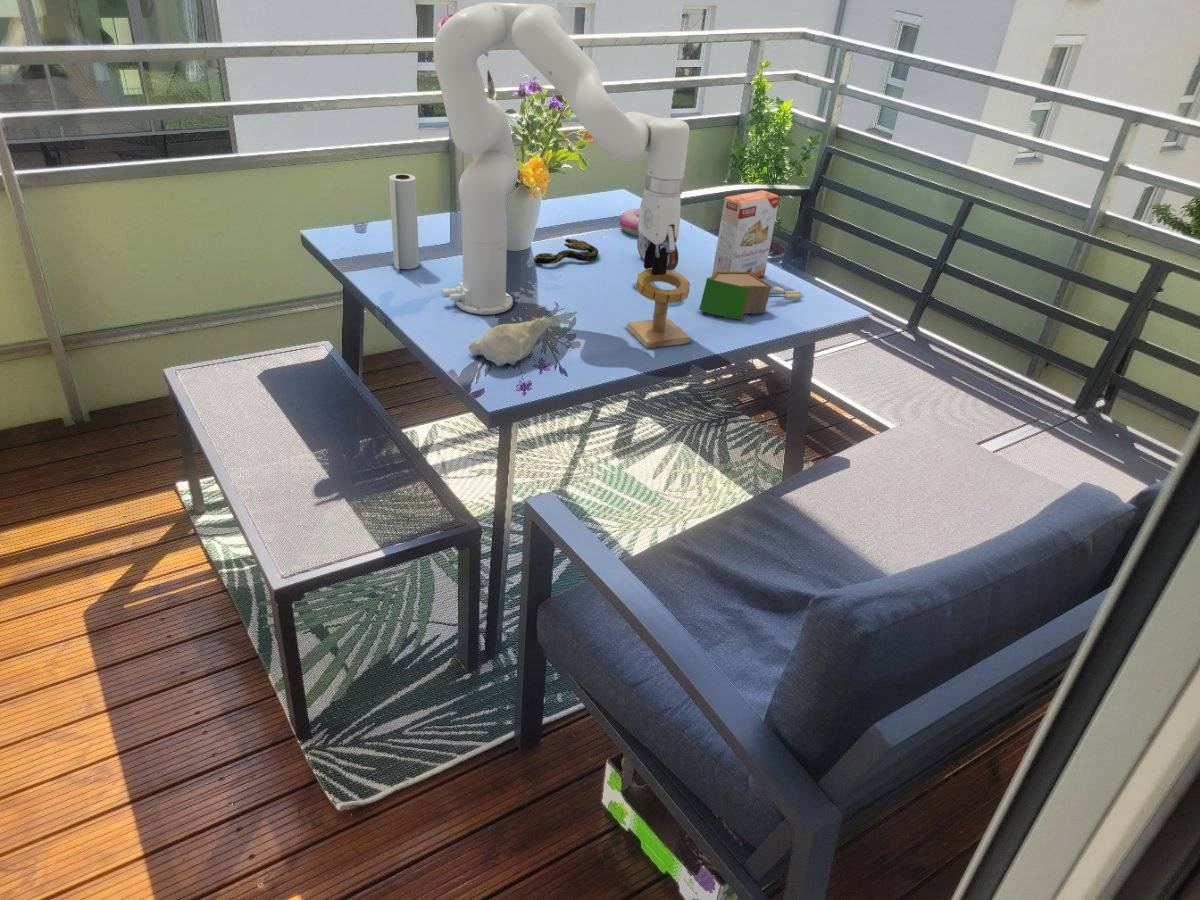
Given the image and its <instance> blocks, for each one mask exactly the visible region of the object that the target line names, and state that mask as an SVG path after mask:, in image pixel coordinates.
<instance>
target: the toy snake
mask: <svg viewBox="0 0 1200 900" xmlns="http://www.w3.org/2000/svg"><path fill="white" fill-rule="evenodd" d="M564 242H565V243H564V244H563V246H565V247H567V248H568V249H564V250H561V251H558V253H556V254H554V253H549V252H542V253H538V254H536V255H535V256H534V257H533V261H534V263H535V264H538V265H548V264H557V263H558V262H561V261H562V260H563V259H566V258H569V259H576V260H577V261H581V262H591V261H595V260H596V259H597V258H598V255H599V249H598V248H597V247H595V246H594V245H592V244H589V243H588V242H586V241H585V240H581V239H575V238H565V240H564ZM578 251H579V252H578ZM580 251H581V252H580ZM583 251H586V252H588V253H582V252H583Z"/></svg>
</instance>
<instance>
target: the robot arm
mask: <svg viewBox="0 0 1200 900" xmlns="http://www.w3.org/2000/svg"><path fill="white" fill-rule="evenodd" d="M565 28H566V27H565V22H564V19H563V17H562V15H561V14H560V13H559V11H558V10H556V9H555V8H554V7H552V6H550V5H548V4H546V3H545V4H543V3H517V2H516V3H515V2H492V1H491V2H489V1H488V2H487V1H486V2H480V3H477V4H474V5H471V6H468V7H465V8H463V9H461V10H459V11H457V12H455V14H453V15H451V16H450V17H449V18H447V20H446V21H445V22H444V23H443V24H442V25H441V27H440V28H439V30H438V32H437V33H436V36H435V38H434V39H435V40H434V42H433V49H432V50H433V51H432V53H433V54H432V55H433V64H434V67H435V72H436V75H437V80H438V83H439V87H440V91H441V96H442V102H443V105H444V109H445V115H446V119H447V123H448V127H449V131H450V136H451V139H452V142H453V144H454V145H455V147H456V149H458V150H459V151H460V152H461V153H462V154H465V155H467V156H468V155H469V156H472V160H473V161H472V162H471V163H470V164H469V165H468V166H467V167H466V168H465V169H464V170H463V172H462V174H461V176H460V178H459V182H458V183H459V184H458V197H459V198H458V199H459V204H460V205H459V206H460V212H461V238H462V239H461V240H462V241H461V242H462V244H461V245H462V248H461V249H462V281H459V282H458V285H457V286H456V285H455V287H453V288H449V287H447V288H441V289H440V294H441V298H443V299H444V298H449V299H450V301H455V304H456V307H457V308H459V309H460V310H462V311H464V312H466V313H470V314H474V315H486V316H488V315H498V314H502V313H505V312H507V311H509V310H510V309H511V308H512V307H513V305H514V301H513V297H512V296H511V295H510V294H509V293H507V256H508V253H507V252H508V221H507V220H508V218H507V209H506V198H507V196H508V194H509V193H510V192H511V191H513V189H514V188H515V186H516V184H517V182H518V178H519V166H518V160H517V155H516V151H515V146H514V141H513V136H512V132H511V128H510V123H509V120H508V117H507V114H506V112H505V110H504V109H503V107H502V106H501V105H500V104H499V102H497V101H495V100H494V99H492V98H490V97H487V94H486V91H485V90H486V89H485V83H484V80H483V77H482V74H481V72H480V69H479V67H478V59H479V58H480V57H481V56H483V55H485V54H487V53H489V52H492V51H494V50H514V51H515V50H516V51H517V50H518V51H519V52H520V54H521V55H522V56H523V57H524V58H525V59H526V60H527V61H528V62H529V63H530V64H531V65H532V66H533V67H534V68H535V69H536V70H537V71H538V72H539V73H540V74H541V75H542V76H543V77H544V78H545V79H546V80H547V82H549V83H550V85H551V86H552V87H553V88H555V90H556V91H557V92H558V93H559V94H560V95H561V96H562V98H564V100H565V101H566V103H567V105H568V107H569V108H570V110H571V111H572V113H573V114H574V115H575V117H576V118H577V120H578V121H579V123H580V124H581V126H582V127H583V128H584V129H585V131H586V132H587V133H588V134H589V135H590V136H591V138H592V139H594V140H595V142H596V143H598V145H599V146H601V148H602V149H603V150H604V151H605V152H606V153H608V155H610V156H611V157H612V158H614V159H615V160H618V161H620V162H626V163H627V162H631V161H635V160H637V159H638V158H639V157H640V156H641V154H643V153H644V152H647V153H648V155H647V165H646V175H645V184H644V185H645V186H644V190H643V192H642V196H641V197H642V198H641V202H640V206H639V207H640V208H639V209H640V214H639V221H638V230H639V232H640V233H641V234H642V235H643V236H644V238H645V249H647V250H645V259H644V260H643V269H644V268H645V269H648V268H651V269H652V272H651V273H652V275H662V274H666V270H667V261H668V257H669V255H670V253H671V252H673V251H675V244H676V243H677V242H678V239H679V233H680V225H681V224H680V223H681V209H682V208H681V207H682V206H681V205H682V203H681V199H682V198H681V195H682V194H683V188H684V181H685V172H686V164H687V156H688V148H689V139H690V126H689V124H688V122H686V120H683V119H679V118H675V117H674V118H673V117H659V116H658V117H657V116H654V115H650V114H646V113H643V112H639V111H628V112H625V113H624V112H623V110H621V109H620V108H619V106H618V105H617V104H616V103H615V102H614V100H613V99H612V98H611V97H610V96H609V93H608V91H606V89H605V87H604V85H603V82H602V79H601V76H600V73H599V69H598V68H597V66H596V64H595V62H594V60H593V59H591V57H589V56H588V55H587V53H586V52H584V51H583V49H581V47H580V46H579V45H578V44H577V43H576V42H575V41H574V40H573V39H572V38H571V37H570V36H569V34H568V33H566V31H565ZM665 239H666V241H664V240H665ZM664 245H665V247H662V248H661V246H664ZM660 248H661V250H660Z"/></svg>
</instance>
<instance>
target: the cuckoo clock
mask: <svg viewBox="0 0 1200 900" xmlns="http://www.w3.org/2000/svg"><path fill="white" fill-rule="evenodd" d="M772 291H773V292H772ZM775 292H776V293H775ZM702 293H703V294H702V296H701V302H700V305H699V310H700V311H702V312H705V313H708V314H713V315H716V316H721V317H725V318H730V319H735V320H739V321H742V319H743V316H744V314H757V315H758V314H764V313H765V311H766V308H767V305H768V302H769V298H784V299H785V300H800V299H801V298H802V292H801V291H799V290H795V291H794V290H792V291H791V290H787V291H786V290H785V289H784V288H782V287H780V286H774V287H773V285H771V284H770V283H768V282H766V281H764V280H763V279H761V278H758V277H756V276H755V275H753V274H751V273H750V272H719V270H717V271H716V273H715V274H714V275H713V276H712V275H711V276H708V277H707V278H706V281H705V285H704V290H703V292H702Z"/></svg>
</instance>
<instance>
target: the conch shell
mask: <svg viewBox="0 0 1200 900" xmlns="http://www.w3.org/2000/svg"><path fill="white" fill-rule="evenodd" d="M552 324H554V318H553V317H552V316H542V317H538V318H537V317H536V316H533V317H532V320H526V321H522V322H517V323H516V322H515V323H503V324H498V325H496V326H493V327H491V328H489V329H488V330H487V331H485V332H484V334H483V335H482V338H480V339H475V340H474V341H473V342H471V343H469V345H468V350H469V352H470V354H472V355H473V356H474V357H478V356H483V357H484V358H485V359H486V360H487V361H490V362H493V363H494V364H495V365H496V366H497V367H500V366H504V365H506V364H509V365H510V366H515V365H516V364H517V362H518V361H522V360H523V359H525V358H526V357H527V356H530V354H531V352H532V351H533V347H534V346H535V345H536V343H537V341H538V339H539V338H540V336H541V335H543V334H544V333H545V332H546V329H547V328H549V327H550V326H551V325H552Z"/></svg>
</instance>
